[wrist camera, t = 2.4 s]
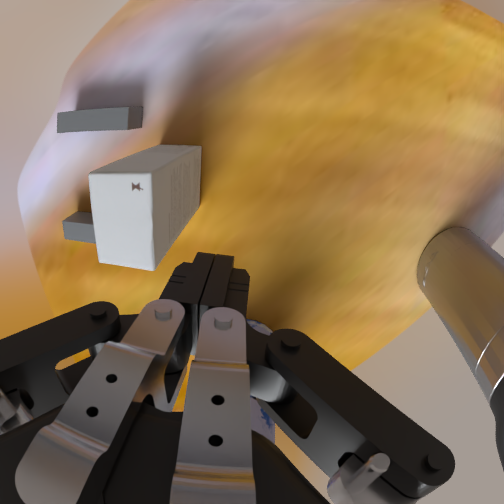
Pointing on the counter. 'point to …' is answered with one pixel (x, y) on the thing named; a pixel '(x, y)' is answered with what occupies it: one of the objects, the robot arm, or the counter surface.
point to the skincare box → (144, 203)
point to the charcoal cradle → (93, 120)
